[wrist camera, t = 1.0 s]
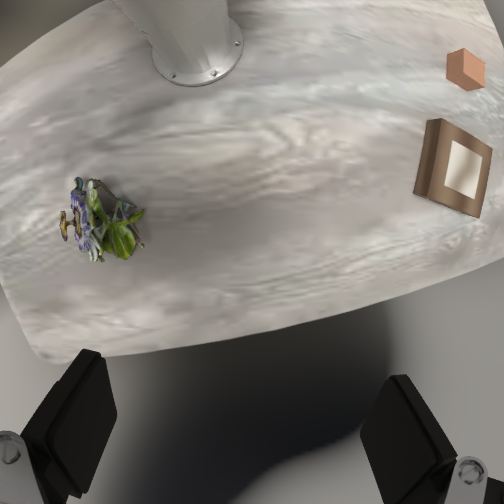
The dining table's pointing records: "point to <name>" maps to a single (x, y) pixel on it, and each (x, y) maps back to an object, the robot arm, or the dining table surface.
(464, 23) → the dining table surface
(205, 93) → the dining table surface
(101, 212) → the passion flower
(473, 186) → the walnut frame
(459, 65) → the terracotta cube
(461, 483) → the robot arm
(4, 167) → the dining table surface
